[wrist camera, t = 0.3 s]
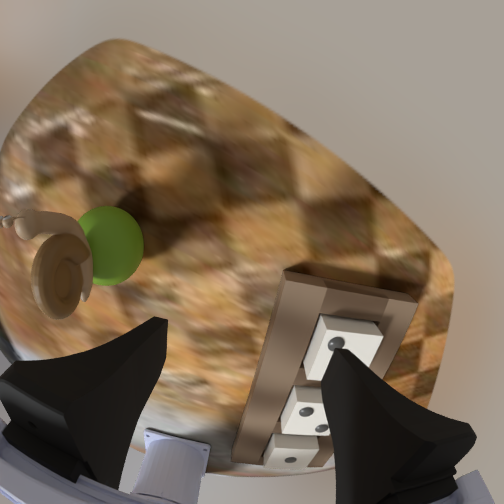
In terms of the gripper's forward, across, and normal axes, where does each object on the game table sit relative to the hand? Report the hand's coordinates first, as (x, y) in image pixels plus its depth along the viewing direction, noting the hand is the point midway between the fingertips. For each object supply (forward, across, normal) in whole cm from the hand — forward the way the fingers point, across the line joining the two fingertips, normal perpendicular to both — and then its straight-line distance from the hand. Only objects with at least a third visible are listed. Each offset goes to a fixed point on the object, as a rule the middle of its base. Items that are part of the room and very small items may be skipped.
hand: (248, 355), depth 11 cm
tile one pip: (+9, -7, +18) cm, 21 cm away
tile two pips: (+9, -7, +11) cm, 16 cm away
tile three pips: (+9, -8, +4) cm, 12 cm away
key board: (+10, -7, +11) cm, 16 cm away
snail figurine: (+10, +10, -1) cm, 14 cm away
